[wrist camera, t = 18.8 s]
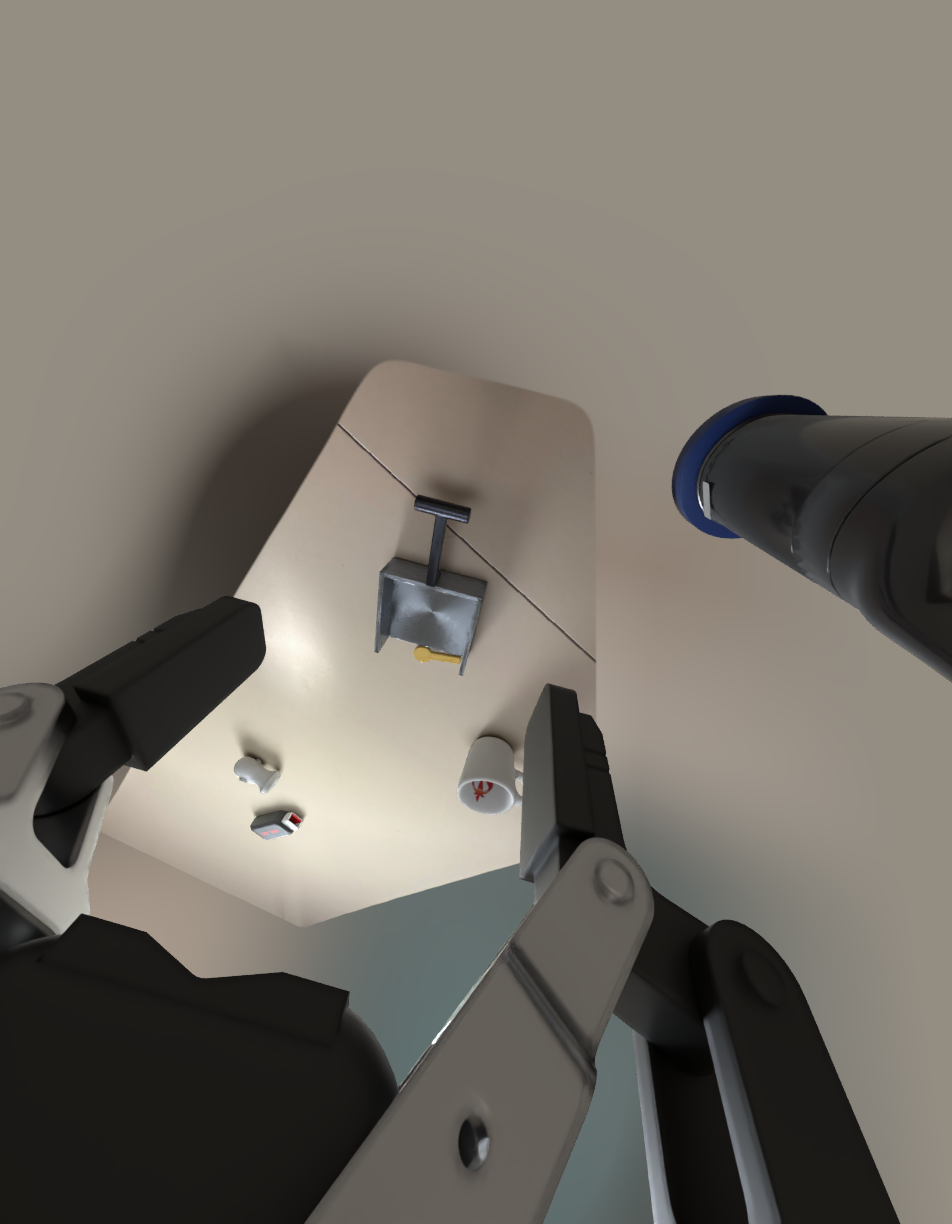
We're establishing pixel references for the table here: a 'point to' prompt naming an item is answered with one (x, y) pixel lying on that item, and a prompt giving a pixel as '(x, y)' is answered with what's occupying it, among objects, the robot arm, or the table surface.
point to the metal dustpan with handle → (430, 594)
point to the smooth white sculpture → (256, 773)
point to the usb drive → (276, 824)
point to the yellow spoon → (434, 656)
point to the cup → (489, 777)
